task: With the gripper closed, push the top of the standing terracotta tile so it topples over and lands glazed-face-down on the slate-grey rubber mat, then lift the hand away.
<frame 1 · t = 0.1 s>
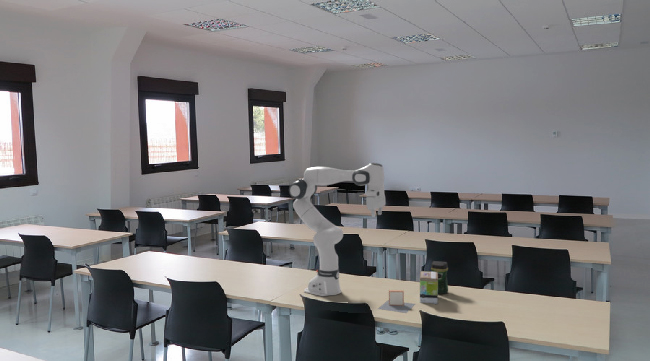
hand: (376, 216, 294), 48 cm above the table, tool pointing down, fingers open, 8 cm apart
tea box: (428, 300, 295), on the table
tile: (396, 305, 284), point 1 cm above the table, touching mat
mat: (396, 307, 282), on the table
coffee jar: (439, 292, 308), on the table
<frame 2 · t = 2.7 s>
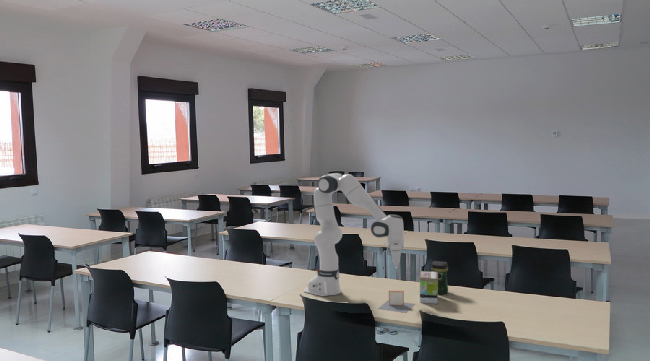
hand: (396, 268, 289), 19 cm above the table, tool pointing down, fingers closed
nothing on the table moved.
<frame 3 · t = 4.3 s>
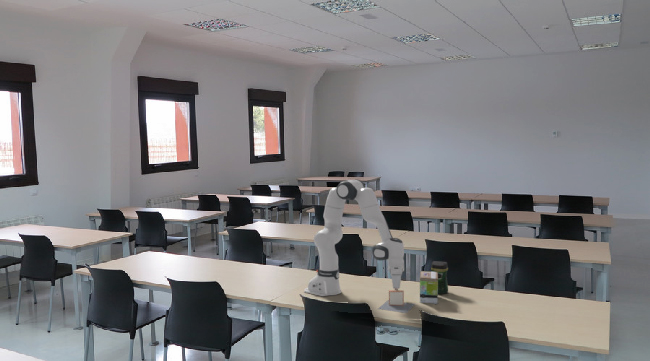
hand: (396, 291, 289), 6 cm above the table, tool pointing down, fingers closed
nothing on the table moved.
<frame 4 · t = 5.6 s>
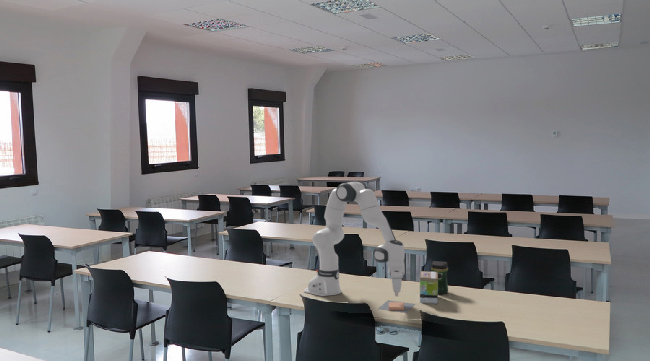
hand: (396, 295, 282), 6 cm above the table, tool pointing down, fingers closed
tile: (396, 303, 283), point 2 cm above the table, tilted 90°, touching mat
everything else where it was.
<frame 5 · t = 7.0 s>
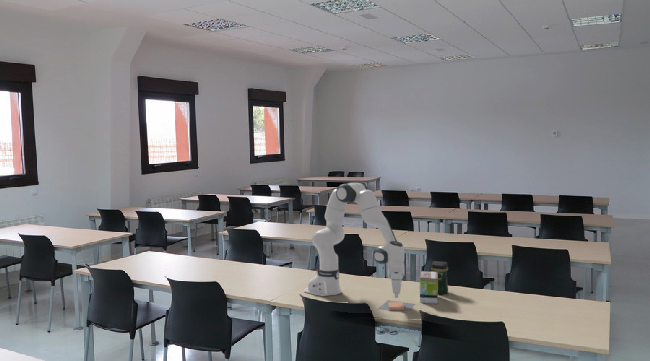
hand: (396, 297, 280), 6 cm above the table, tool pointing down, fingers closed
nothing on the table moved.
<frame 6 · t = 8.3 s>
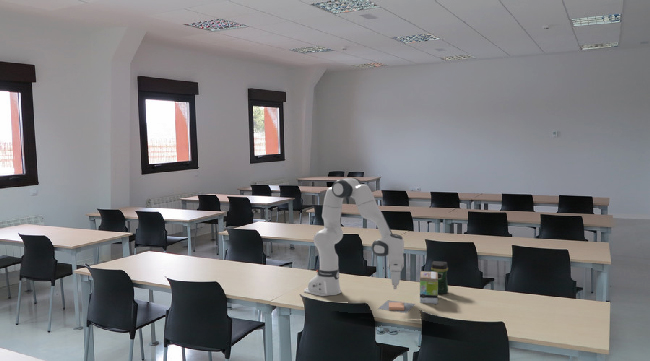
hand: (395, 288, 287), 9 cm above the table, tool pointing down, fingers closed
nothing on the table moved.
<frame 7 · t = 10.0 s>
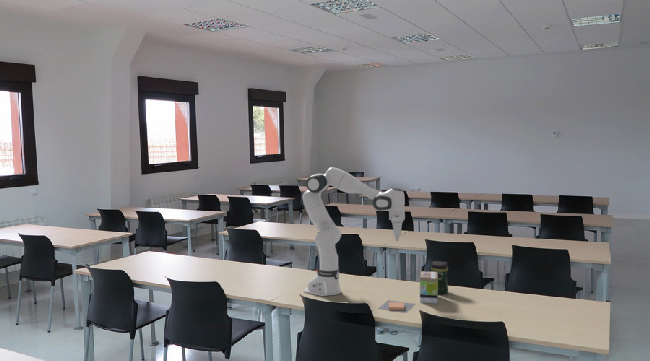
hand: (397, 240, 298), 33 cm above the table, tool pointing down, fingers closed
nothing on the table moved.
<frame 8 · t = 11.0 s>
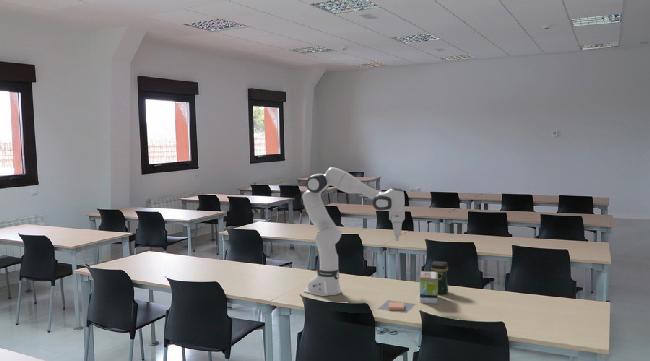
hand: (397, 240, 298), 33 cm above the table, tool pointing down, fingers closed
nothing on the table moved.
at the end: tile tilted 90°; tile inside the target area on the mat (1.3 cm from its centre), point 1.6 cm above the mat's base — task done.
